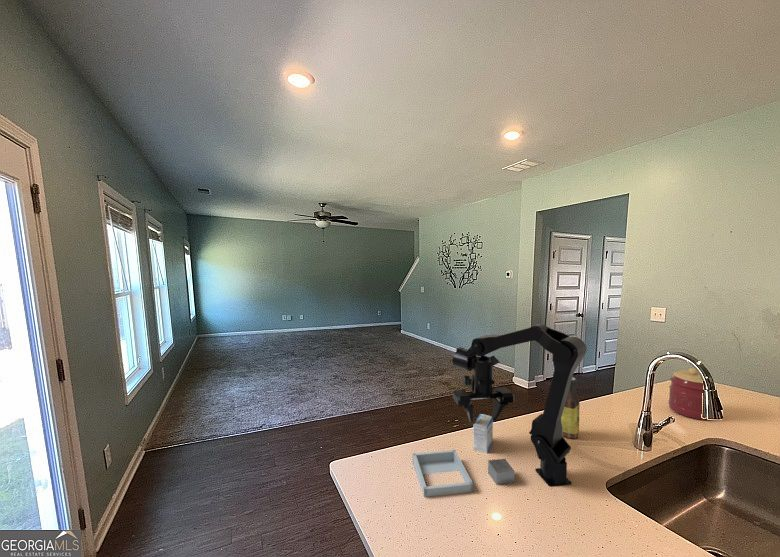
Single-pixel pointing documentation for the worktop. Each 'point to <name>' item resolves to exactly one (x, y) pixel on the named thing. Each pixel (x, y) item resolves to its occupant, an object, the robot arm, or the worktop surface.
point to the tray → (439, 464)
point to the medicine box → (483, 433)
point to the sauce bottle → (571, 413)
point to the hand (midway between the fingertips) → (482, 421)
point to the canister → (686, 393)
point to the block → (501, 471)
